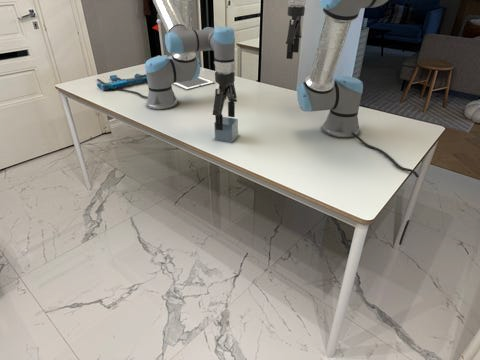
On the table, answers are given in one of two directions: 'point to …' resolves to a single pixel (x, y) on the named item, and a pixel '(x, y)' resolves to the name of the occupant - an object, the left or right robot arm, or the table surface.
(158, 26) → the flag stand
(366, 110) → the table surface
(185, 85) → the tablet
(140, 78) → the submachine gun
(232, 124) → the grey cube
